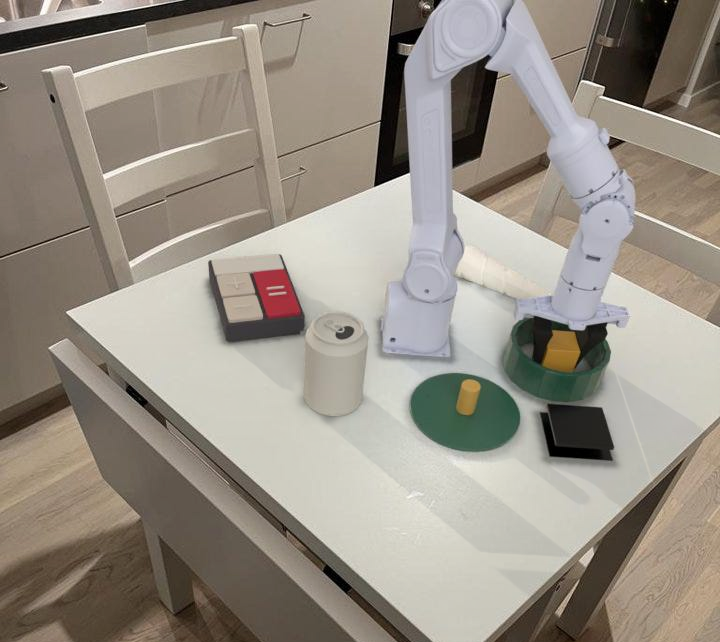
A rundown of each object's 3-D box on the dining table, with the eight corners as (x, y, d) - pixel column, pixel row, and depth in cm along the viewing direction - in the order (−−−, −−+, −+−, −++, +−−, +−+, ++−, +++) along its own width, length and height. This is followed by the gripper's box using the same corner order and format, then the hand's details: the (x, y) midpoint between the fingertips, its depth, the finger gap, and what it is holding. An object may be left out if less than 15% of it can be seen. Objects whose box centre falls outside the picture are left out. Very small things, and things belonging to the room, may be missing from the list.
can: (341, 429, 91) (347, 353, 82) (292, 404, 93) (293, 328, 84) (372, 397, 96) (381, 321, 87) (324, 374, 98) (329, 298, 89)
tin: (508, 401, 97) (517, 371, 93) (497, 338, 106) (505, 309, 102) (607, 408, 98) (620, 379, 94) (588, 345, 107) (599, 316, 103)
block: (538, 378, 100) (547, 349, 96) (533, 358, 103) (542, 329, 99) (569, 380, 100) (580, 352, 97) (564, 360, 103) (574, 331, 100)
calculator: (225, 321, 98) (207, 255, 106) (227, 346, 101) (208, 280, 110) (305, 312, 100) (281, 248, 109) (304, 336, 104) (280, 273, 112)
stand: (548, 459, 91) (553, 445, 89) (538, 415, 96) (543, 401, 94) (611, 463, 91) (618, 450, 89) (598, 419, 96) (604, 405, 94)
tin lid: (410, 451, 90) (416, 421, 86) (407, 375, 99) (412, 345, 95) (525, 458, 90) (536, 429, 87) (511, 382, 100) (520, 353, 96)
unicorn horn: (586, 340, 108) (596, 313, 104) (448, 278, 116) (453, 251, 112) (598, 326, 110) (609, 299, 107) (463, 266, 118) (468, 239, 115)
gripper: (530, 291, 88) (504, 378, 98) (649, 300, 88) (611, 386, 99) (522, 259, 92) (498, 345, 103) (635, 268, 93) (600, 352, 103)
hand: (553, 363), depth 101 cm, fingers closed on block, 4 cm apart
